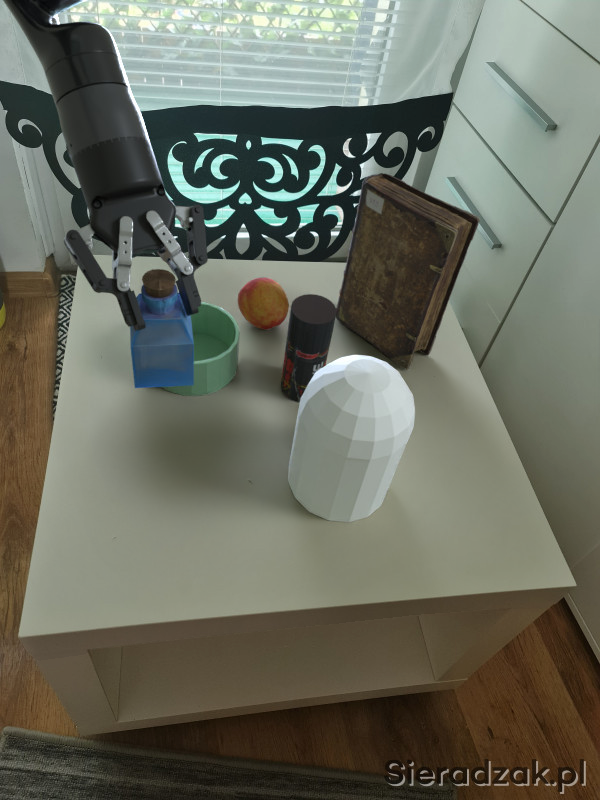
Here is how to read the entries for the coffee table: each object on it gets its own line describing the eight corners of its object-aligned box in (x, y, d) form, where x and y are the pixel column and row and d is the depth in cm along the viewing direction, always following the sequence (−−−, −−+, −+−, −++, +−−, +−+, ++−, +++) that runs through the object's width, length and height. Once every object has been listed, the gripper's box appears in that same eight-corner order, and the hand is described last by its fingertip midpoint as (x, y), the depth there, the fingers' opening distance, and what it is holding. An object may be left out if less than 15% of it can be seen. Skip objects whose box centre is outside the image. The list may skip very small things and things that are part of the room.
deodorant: (295, 366, 93) (308, 288, 82) (327, 386, 91) (345, 308, 80) (272, 388, 90) (281, 309, 79) (304, 408, 88) (319, 330, 77)
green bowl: (170, 407, 85) (168, 375, 80) (134, 348, 92) (130, 315, 87) (252, 378, 91) (255, 346, 86) (213, 324, 97) (213, 292, 93)
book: (329, 315, 102) (357, 175, 84) (358, 299, 106) (391, 162, 87) (403, 374, 95) (452, 235, 76) (432, 355, 99) (485, 218, 80)
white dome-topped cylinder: (409, 496, 80) (455, 393, 65) (324, 540, 74) (354, 438, 59) (349, 424, 87) (379, 317, 72) (268, 460, 81) (282, 350, 66)
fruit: (278, 302, 103) (283, 263, 97) (292, 335, 98) (298, 295, 92) (232, 308, 100) (234, 268, 95) (245, 341, 96) (247, 301, 90)
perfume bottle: (189, 345, 71) (189, 259, 62) (193, 385, 67) (193, 299, 58) (133, 347, 69) (125, 259, 60) (134, 388, 65) (125, 300, 57)
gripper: (35, 146, 52) (102, 340, 55) (191, 123, 58) (245, 298, 61) (30, 173, 59) (90, 345, 61) (170, 150, 65) (220, 307, 67)
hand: (167, 321), depth 61 cm, fingers closed on perfume bottle, 5 cm apart
